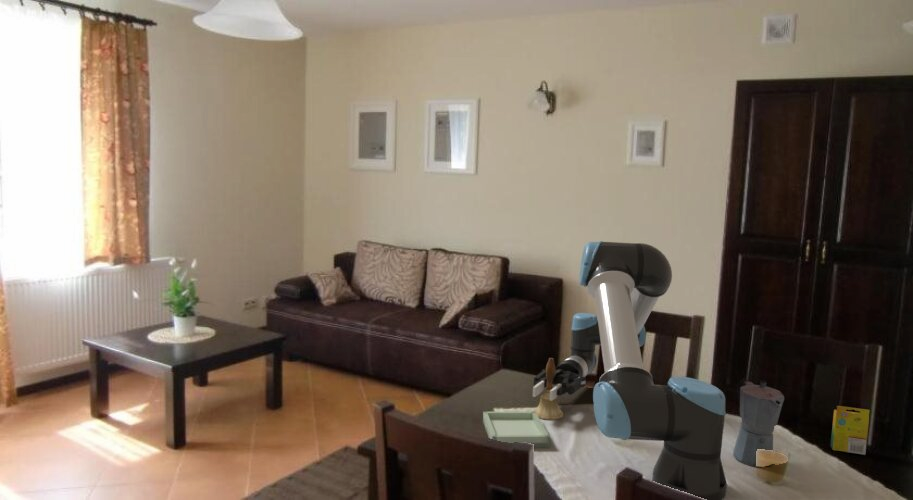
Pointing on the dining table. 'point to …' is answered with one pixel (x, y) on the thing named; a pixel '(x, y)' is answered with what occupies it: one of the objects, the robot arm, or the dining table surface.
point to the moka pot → (756, 419)
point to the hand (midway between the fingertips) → (542, 393)
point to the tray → (516, 428)
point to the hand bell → (547, 407)
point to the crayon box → (850, 430)
